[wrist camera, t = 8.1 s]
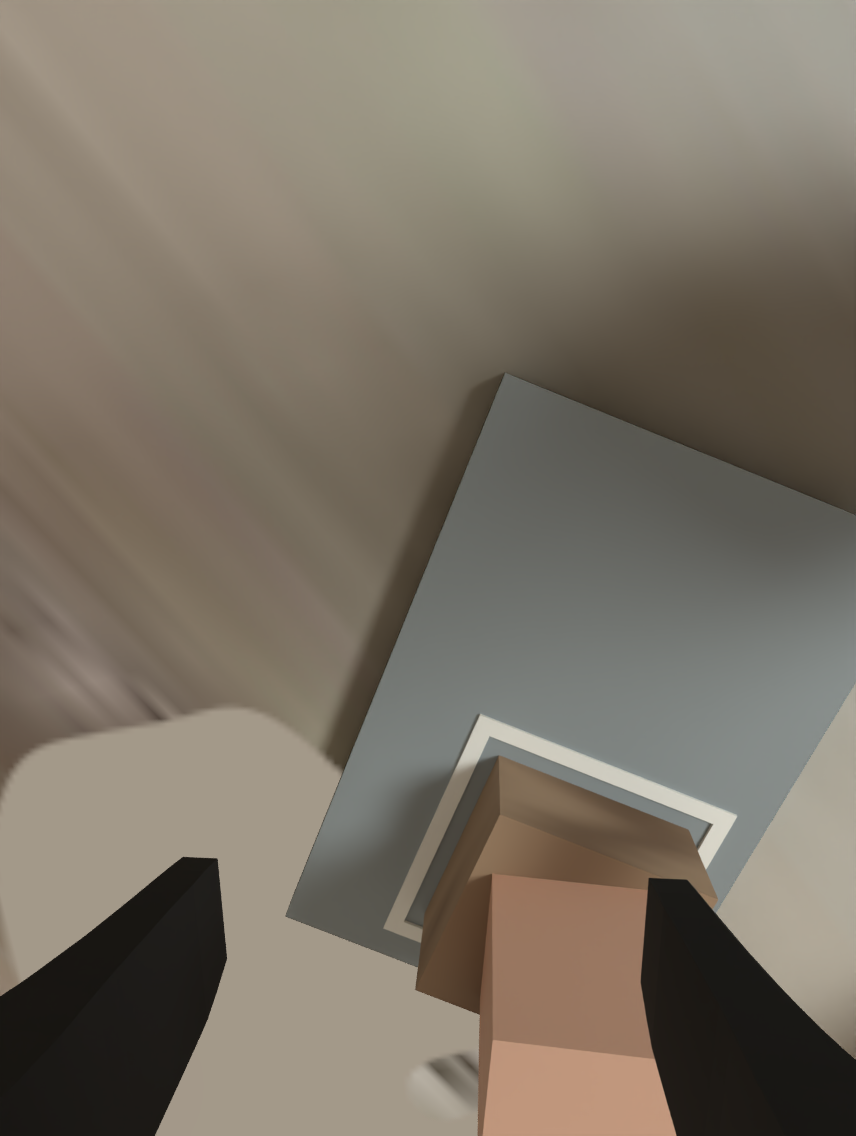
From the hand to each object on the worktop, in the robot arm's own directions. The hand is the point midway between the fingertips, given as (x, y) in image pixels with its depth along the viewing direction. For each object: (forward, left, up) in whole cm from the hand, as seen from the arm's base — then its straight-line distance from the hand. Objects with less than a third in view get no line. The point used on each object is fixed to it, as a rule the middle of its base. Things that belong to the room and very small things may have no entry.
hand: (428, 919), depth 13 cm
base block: (-5, +5, -9) cm, 12 cm away
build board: (-4, +1, -10) cm, 11 cm away
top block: (-5, +5, -6) cm, 9 cm away
